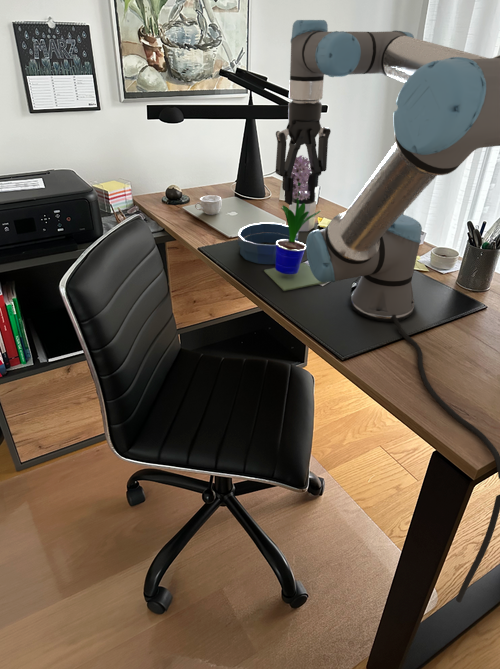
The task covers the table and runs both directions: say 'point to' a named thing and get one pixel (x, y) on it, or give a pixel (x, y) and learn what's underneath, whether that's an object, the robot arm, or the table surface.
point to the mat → (293, 278)
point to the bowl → (262, 251)
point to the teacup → (210, 204)
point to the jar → (308, 207)
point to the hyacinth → (294, 221)
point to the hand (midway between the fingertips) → (299, 201)
